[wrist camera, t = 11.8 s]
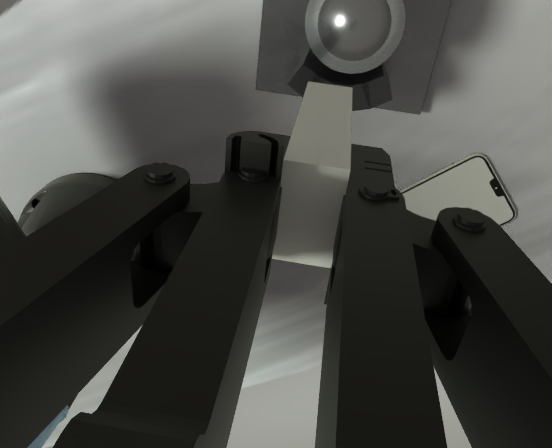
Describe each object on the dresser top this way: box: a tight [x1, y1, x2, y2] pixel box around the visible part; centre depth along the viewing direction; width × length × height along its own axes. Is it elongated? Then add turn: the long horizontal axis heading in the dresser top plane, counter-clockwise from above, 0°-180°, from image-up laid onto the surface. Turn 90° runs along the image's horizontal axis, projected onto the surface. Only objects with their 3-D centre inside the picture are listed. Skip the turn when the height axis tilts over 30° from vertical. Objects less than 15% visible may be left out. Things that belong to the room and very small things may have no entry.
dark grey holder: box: [256, 0, 451, 114], centre depth 33 cm, size 13×13×6 cm
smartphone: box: [400, 153, 516, 227], centre depth 44 cm, size 7×1×15 cm
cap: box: [305, 0, 405, 74], centre depth 32 cm, size 6×6×6 cm
